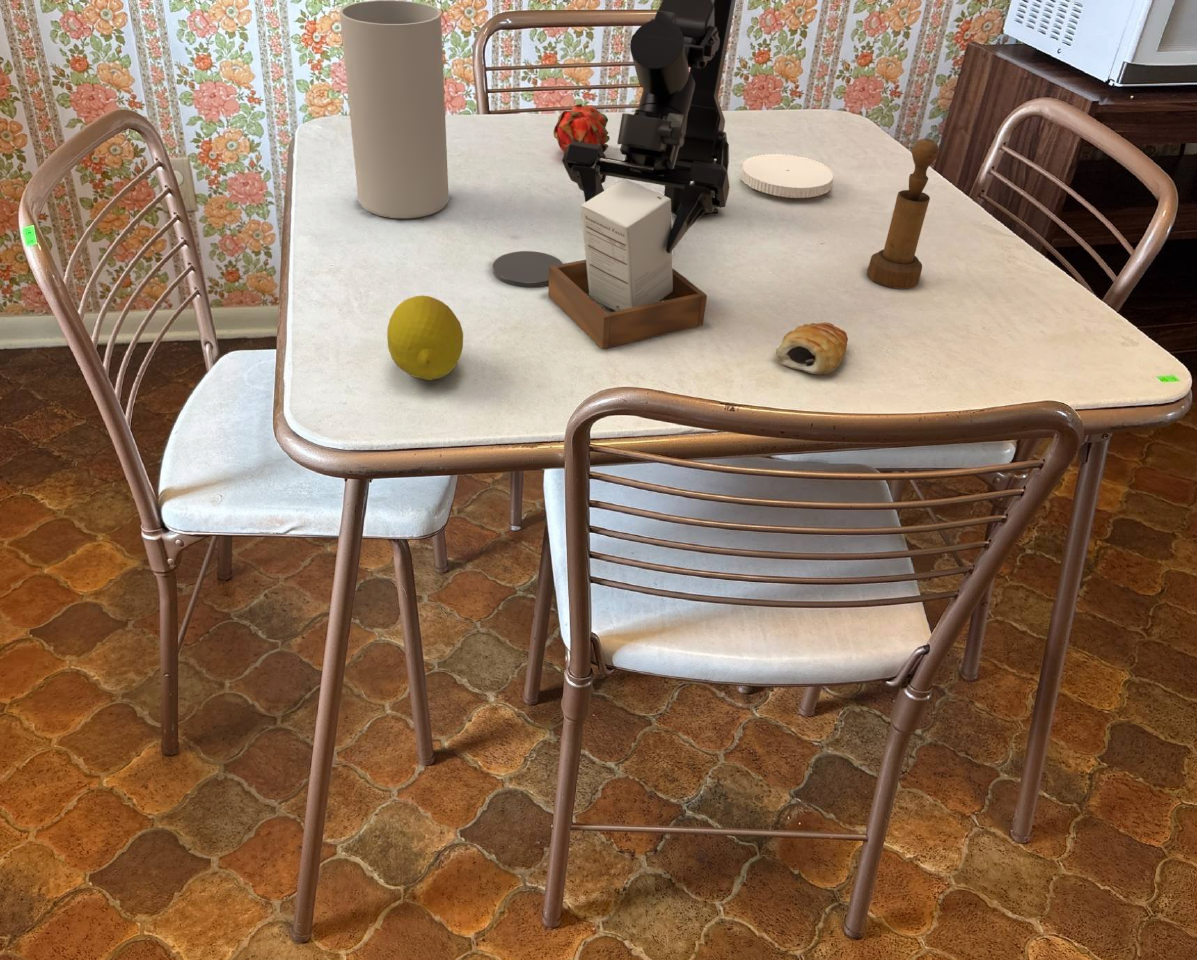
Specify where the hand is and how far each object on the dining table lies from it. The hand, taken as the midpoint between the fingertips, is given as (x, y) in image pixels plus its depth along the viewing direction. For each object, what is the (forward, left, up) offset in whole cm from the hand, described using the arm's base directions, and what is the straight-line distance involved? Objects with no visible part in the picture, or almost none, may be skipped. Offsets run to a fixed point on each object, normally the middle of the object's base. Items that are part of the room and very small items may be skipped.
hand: (628, 244), depth 112 cm
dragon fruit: (-19, -47, -9) cm, 52 cm away
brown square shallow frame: (0, 0, -9) cm, 9 cm away
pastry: (-14, +18, -9) cm, 24 cm away
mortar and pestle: (-37, +6, -9) cm, 39 cm away
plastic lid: (-43, -25, -9) cm, 51 cm away
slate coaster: (+6, -14, -9) cm, 18 cm away
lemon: (+26, +3, -9) cm, 27 cm away
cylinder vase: (+13, -40, -9) cm, 43 cm away
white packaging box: (-2, -1, -7) cm, 7 cm away
